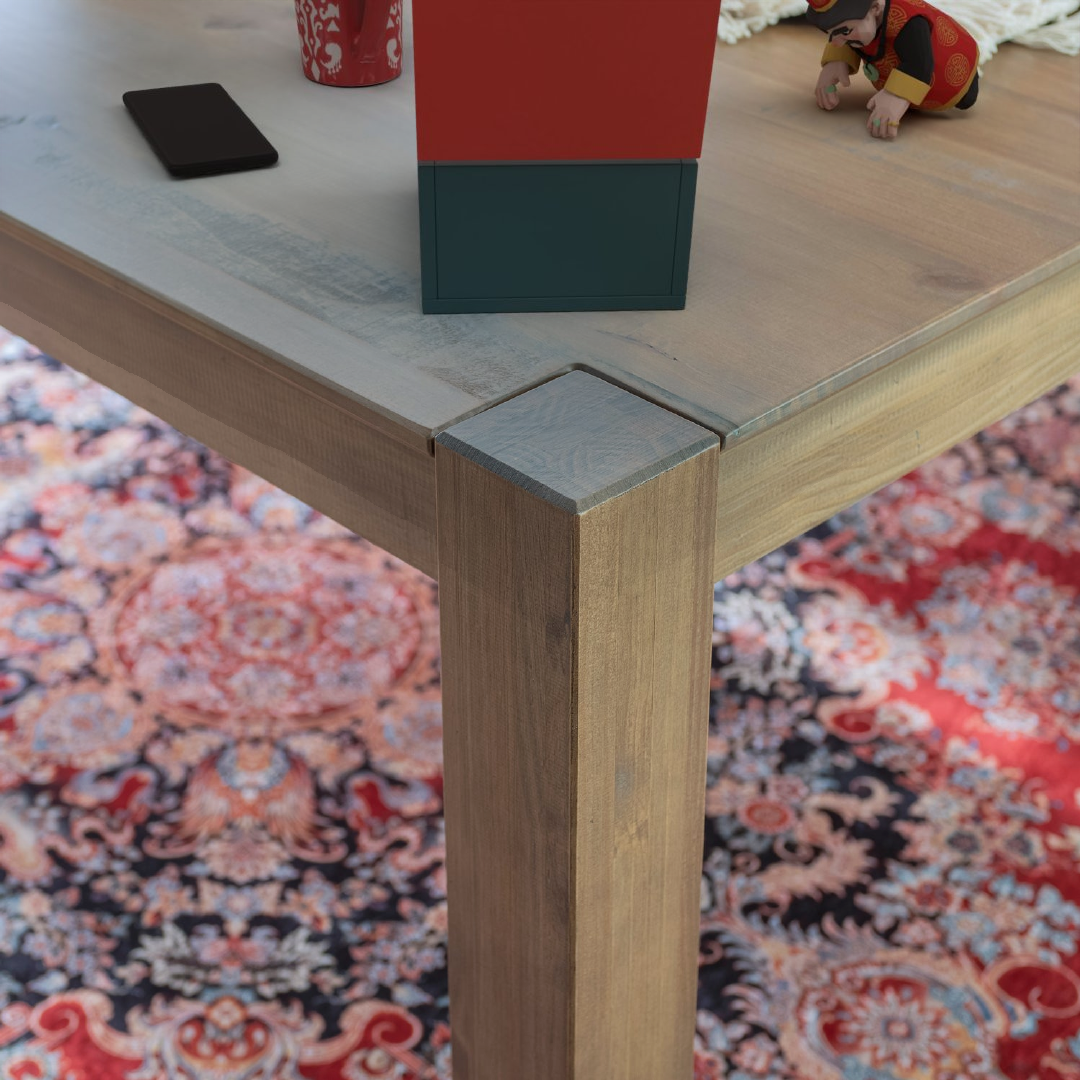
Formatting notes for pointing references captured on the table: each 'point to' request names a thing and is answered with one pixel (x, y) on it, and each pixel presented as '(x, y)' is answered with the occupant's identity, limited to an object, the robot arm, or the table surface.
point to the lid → (562, 78)
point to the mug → (350, 40)
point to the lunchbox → (555, 234)
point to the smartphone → (198, 129)
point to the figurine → (895, 57)
